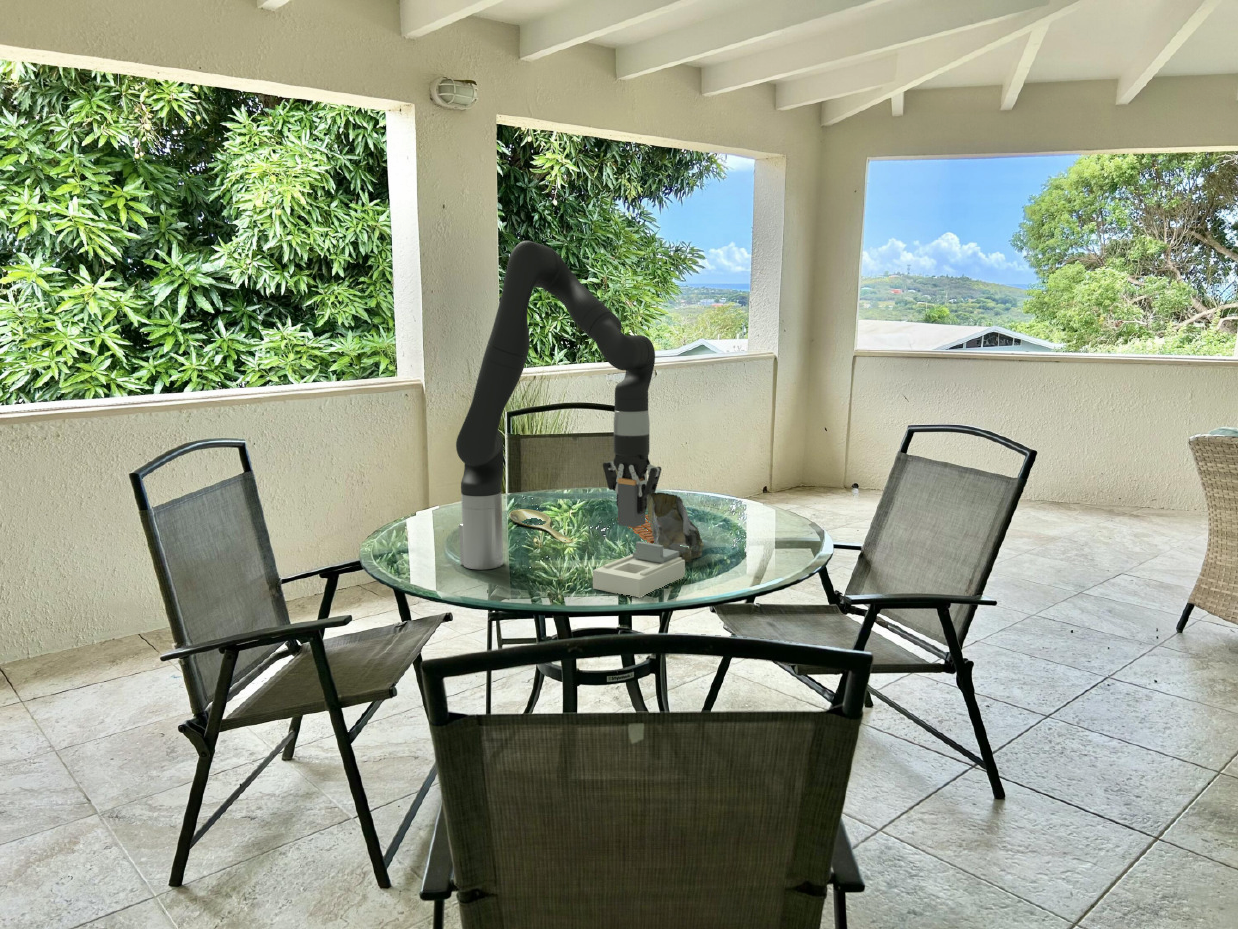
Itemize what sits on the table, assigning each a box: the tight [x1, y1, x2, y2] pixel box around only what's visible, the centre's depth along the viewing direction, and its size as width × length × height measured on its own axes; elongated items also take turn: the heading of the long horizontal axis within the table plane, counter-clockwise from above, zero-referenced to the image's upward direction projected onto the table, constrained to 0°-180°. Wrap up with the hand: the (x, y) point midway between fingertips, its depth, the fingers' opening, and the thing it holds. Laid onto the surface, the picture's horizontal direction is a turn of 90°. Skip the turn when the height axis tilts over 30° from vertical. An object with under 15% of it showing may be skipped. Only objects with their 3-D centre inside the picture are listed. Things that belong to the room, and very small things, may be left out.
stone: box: [647, 491, 705, 563], centre depth 225 cm, size 17×10×30 cm
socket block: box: [592, 553, 686, 598], centre depth 198 cm, size 12×18×4 cm, turn 145°
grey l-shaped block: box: [632, 540, 679, 563], centre depth 202 cm, size 8×7×4 cm
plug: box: [617, 478, 646, 528], centre depth 193 cm, size 4×4×10 cm
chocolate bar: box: [628, 514, 654, 544], centre depth 247 cm, size 14×30×1 cm, turn 17°
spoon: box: [508, 508, 574, 544], centre depth 248 cm, size 35×11×2 cm, turn 28°
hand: (631, 511), depth 193 cm, fingers closed on plug, 4 cm apart
